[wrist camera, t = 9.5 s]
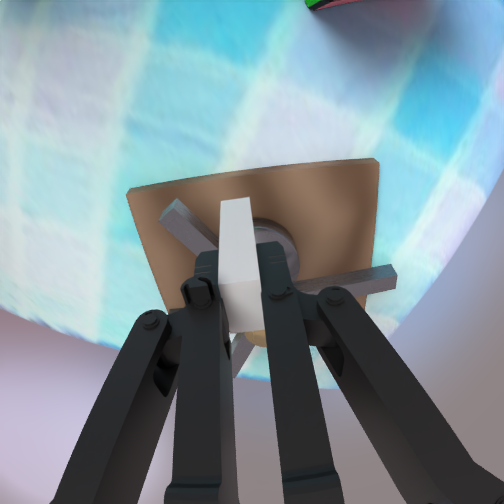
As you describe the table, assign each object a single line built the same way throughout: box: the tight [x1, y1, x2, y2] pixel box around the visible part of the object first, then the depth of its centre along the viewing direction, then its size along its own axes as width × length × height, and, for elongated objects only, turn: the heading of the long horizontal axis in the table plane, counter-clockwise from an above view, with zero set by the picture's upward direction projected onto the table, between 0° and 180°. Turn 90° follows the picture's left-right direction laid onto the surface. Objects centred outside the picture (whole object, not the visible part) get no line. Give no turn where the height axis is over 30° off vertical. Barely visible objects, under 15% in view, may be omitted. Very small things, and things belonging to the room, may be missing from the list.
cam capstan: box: [158, 198, 397, 378], centre depth 24 cm, size 16×18×8 cm
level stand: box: [126, 158, 379, 332], centre depth 28 cm, size 20×16×4 cm
